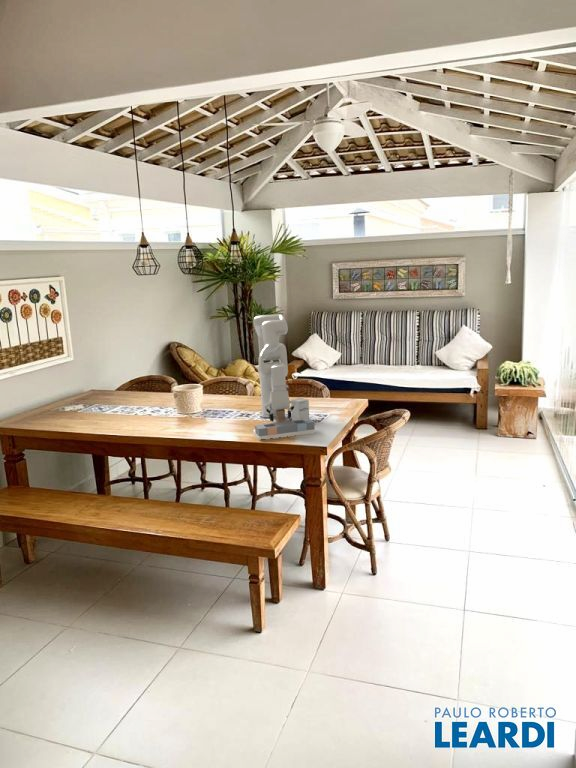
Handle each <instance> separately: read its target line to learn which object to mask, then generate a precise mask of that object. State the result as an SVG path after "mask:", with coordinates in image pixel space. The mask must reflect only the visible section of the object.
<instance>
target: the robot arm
mask: <svg viewBox="0 0 576 768" xmlns="http://www.w3.org/2000/svg"><path fill="white" fill-rule="evenodd" d="M252 323H253V328H254V331H255V333H256V334H257V341H258V354H259V355H258V359H257V361H258V367H257V372H258V377H259V383H260V384H259V385H260V399H261V401H260V403H261V412H260V413H259V416H260V417H261V418H269V420H270V421H271V422H274V418H276V410H282V409H284V410H287V418H288V419H289V420H292V410H293V409H294V406H295V404H296V403H295V402H292V401H291V399H290V397H289V391H288V389H289V385H288V384H287V382H286V381H287V379H286V377H287V376H288V374H289V373H288V372H289V371H288V369H289V368H288V354H287V347H286V345H285V344H284V343H280V340H279V336H281V335H282V336H283V335H287V333H288V332H289V331H288V329H289V327H288V323H287V321H286V318H285V317H284V316H283V314H281V313H278V314H277V313H276V314H263V315H261V314H260V315H256V316H255V317H254V318H253V321H252ZM277 360H278V361H277ZM264 361H268V362H264ZM291 404H292V406H291Z"/></svg>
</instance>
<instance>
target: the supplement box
mask: <svg viewBox="0 0 576 768" xmlns="http://www.w3.org/2000/svg"><path fill="white" fill-rule="evenodd" d="M290 401H292V402H295V403H296V404H295V406H294V409H293V410H292V412H291V421H293V420H301V419H310V406H309V405H310V404H309V403H310V400H309V399H308V398H303V397H299V398H294V399H290ZM291 406H292V404H291V403H290V407H291Z"/></svg>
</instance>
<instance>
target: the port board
mask: <svg viewBox="0 0 576 768" xmlns="http://www.w3.org/2000/svg"><path fill="white" fill-rule="evenodd" d="M315 426H316V425H315V421H314V420H312V419H311V418H309V419H301V420H293V421H292V420H288V421H287V420H285V422H277V423H276V422H272V423H270V422H269V423H263V424H255V425H254V429H252V434H253V435H254V437H256V439H257V440H258V441H262V440H261V439H266V440H271V439H270V438H273V439H280V438H279V437H281V438H287V436H288V437H296V436H301V435H309V434H311V435H312V434H315V433H316V429H315V428H316V427H315ZM295 435H296V436H295Z"/></svg>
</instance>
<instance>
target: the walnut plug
mask: <svg viewBox="0 0 576 768" xmlns="http://www.w3.org/2000/svg"><path fill="white" fill-rule="evenodd" d="M285 421H286V409H282V410H276V417H275V423H277V422H285Z"/></svg>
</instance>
